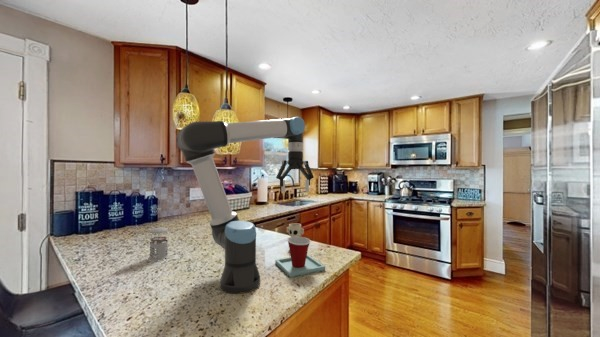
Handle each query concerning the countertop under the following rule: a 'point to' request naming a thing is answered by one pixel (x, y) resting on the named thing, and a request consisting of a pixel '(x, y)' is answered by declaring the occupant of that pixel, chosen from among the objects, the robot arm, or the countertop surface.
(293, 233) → the character mug
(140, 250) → the countertop surface
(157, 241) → the french press
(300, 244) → the plastic cup
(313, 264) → the tray
